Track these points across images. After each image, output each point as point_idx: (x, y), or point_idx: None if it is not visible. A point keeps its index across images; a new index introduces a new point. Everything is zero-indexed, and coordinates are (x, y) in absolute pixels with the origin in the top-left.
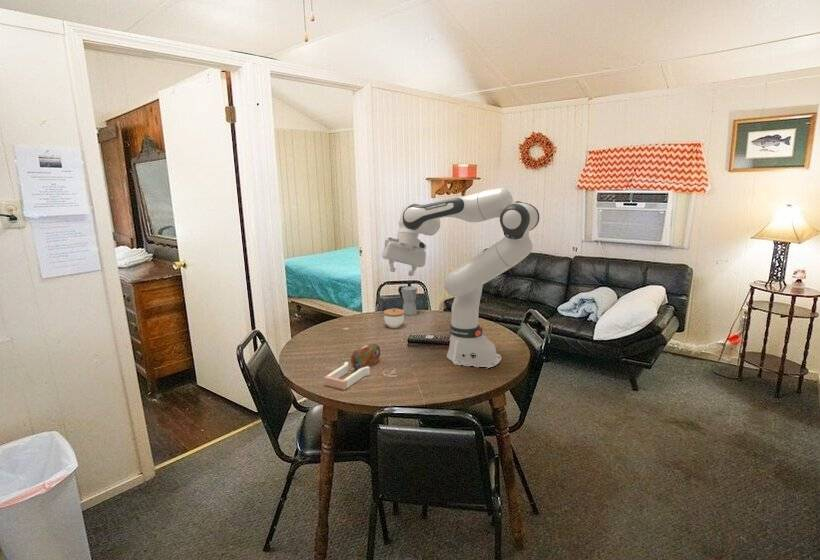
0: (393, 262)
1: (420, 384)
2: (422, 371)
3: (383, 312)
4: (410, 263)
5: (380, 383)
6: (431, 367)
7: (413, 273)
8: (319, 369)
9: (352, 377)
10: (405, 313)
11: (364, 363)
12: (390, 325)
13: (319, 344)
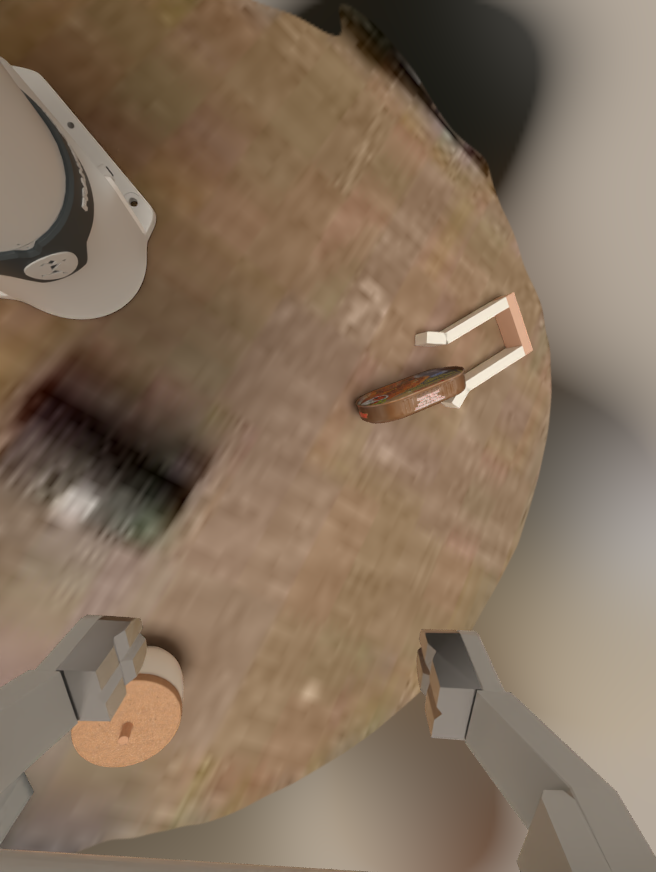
0: (568, 807)
1: (339, 184)
2: (285, 253)
3: (177, 728)
4: (28, 866)
5: (420, 270)
6: (242, 258)
7: (63, 641)
8: (489, 439)
9: (484, 308)
10: (20, 786)
11: (414, 381)
12: (172, 655)
13: (425, 594)
